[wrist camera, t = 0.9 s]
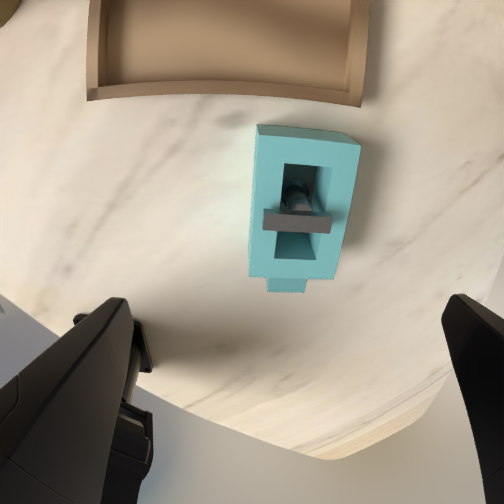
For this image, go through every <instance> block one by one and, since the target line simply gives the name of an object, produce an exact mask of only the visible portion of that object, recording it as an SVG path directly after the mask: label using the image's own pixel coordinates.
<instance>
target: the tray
mask: <svg viewBox="0 0 504 504" xmlns="http://www.w3.org/2000/svg"><path fill="white" fill-rule="evenodd" d="M369 14H370V0H90V5H89V16H88V32H87V60H86V86H87V101H93V100H101V99H110V98H120V97H132V96H146V95H164V94H239V95H259V96H273V97H284V98H295V99H304V100H312V101H320V102H328V103H335V104H341V105H347V106H353V107H359V108H361V101H362V92H363V84H364V75H365V65H366V54H367V43H368V30H369Z"/></svg>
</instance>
